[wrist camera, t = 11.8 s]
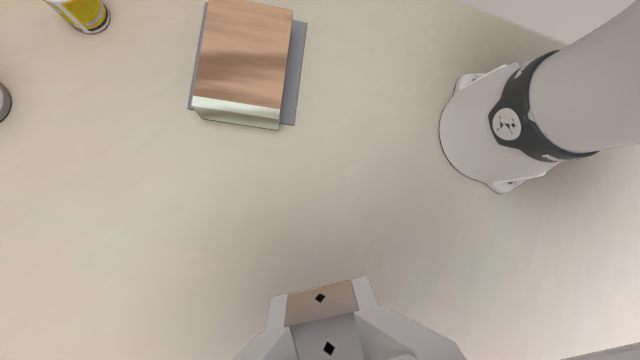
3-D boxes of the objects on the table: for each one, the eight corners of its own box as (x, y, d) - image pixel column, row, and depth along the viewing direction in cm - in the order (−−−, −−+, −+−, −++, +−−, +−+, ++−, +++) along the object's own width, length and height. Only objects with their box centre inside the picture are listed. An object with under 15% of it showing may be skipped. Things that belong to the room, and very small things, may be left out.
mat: (293, 125, 41) (294, 124, 40) (188, 109, 39) (187, 108, 39) (306, 24, 42) (307, 23, 42) (206, 4, 41) (205, 2, 40)
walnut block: (278, 119, 35) (293, 10, 37) (191, 105, 34) (210, -7, 35) (278, 130, 40) (291, 33, 42) (201, 118, 39) (217, 19, 40)
